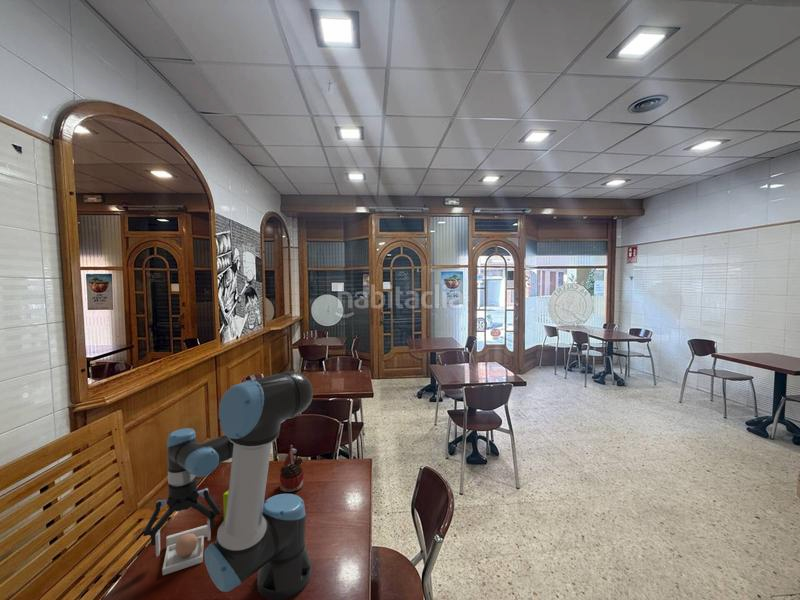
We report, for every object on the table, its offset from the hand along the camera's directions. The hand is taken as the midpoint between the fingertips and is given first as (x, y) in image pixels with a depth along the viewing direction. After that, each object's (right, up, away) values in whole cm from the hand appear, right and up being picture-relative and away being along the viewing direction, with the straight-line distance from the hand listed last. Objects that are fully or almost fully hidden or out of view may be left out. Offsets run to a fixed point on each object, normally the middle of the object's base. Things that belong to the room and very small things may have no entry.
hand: (184, 545), depth 106 cm
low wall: (-3, -4, +7) cm, 8 cm away
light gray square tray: (0, -4, 0) cm, 4 cm away
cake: (+22, -3, +37) cm, 44 cm away
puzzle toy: (+10, -3, +21) cm, 23 cm away
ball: (0, -3, 0) cm, 3 cm away
